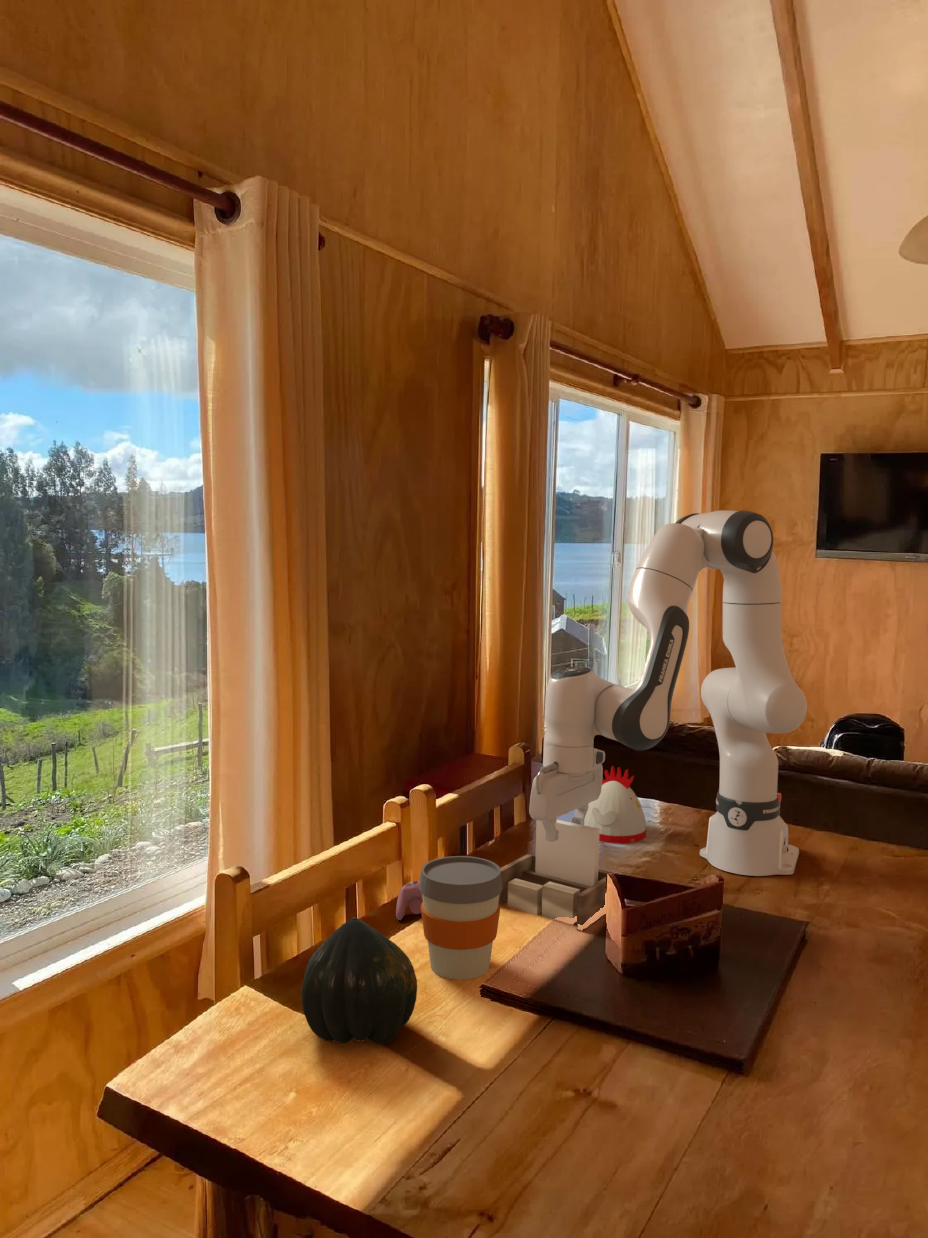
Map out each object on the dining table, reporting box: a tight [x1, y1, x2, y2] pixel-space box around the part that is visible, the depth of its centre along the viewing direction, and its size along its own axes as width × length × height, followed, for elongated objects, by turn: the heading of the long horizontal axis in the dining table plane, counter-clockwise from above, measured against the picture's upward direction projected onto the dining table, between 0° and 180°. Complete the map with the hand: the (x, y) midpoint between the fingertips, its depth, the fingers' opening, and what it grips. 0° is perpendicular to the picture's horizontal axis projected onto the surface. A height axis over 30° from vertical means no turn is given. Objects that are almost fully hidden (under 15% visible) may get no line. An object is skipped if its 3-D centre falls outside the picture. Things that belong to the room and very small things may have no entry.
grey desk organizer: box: [498, 852, 619, 925], centre depth 162 cm, size 13×18×6 cm
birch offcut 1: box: [507, 878, 542, 916], centre depth 161 cm, size 2×6×4 cm, turn 54°
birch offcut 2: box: [541, 882, 580, 921], centre depth 157 cm, size 2×6×6 cm, turn 54°
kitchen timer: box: [584, 765, 647, 844], centre depth 203 cm, size 14×14×15 cm
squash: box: [300, 916, 418, 1045], centre depth 121 cm, size 14×15×15 cm
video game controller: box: [395, 879, 423, 921], centre depth 158 cm, size 10×5×7 cm, turn 85°
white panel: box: [535, 819, 600, 886], centre depth 165 cm, size 2×12×14 cm, turn 54°
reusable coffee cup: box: [419, 855, 502, 981], centre depth 139 cm, size 13×13×15 cm
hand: (565, 834), depth 164 cm, fingers open, 8 cm apart
